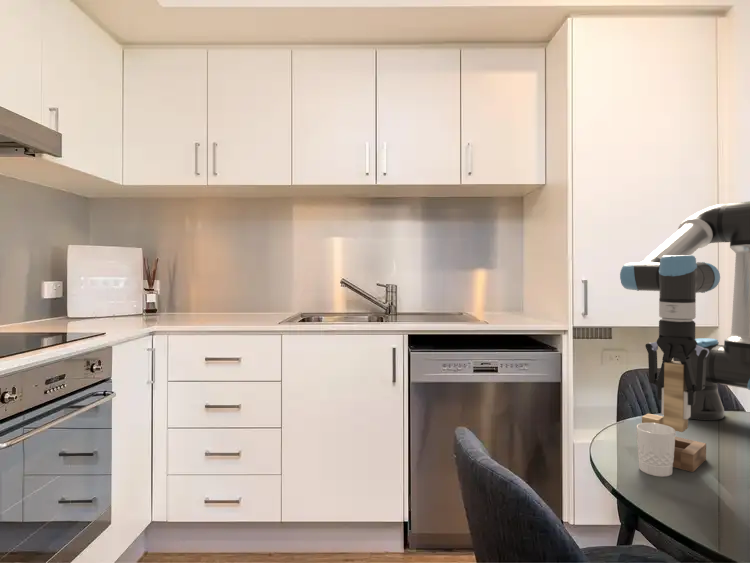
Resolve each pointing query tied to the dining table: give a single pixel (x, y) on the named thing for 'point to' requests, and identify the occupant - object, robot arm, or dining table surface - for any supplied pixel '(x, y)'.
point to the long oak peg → (674, 395)
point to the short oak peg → (653, 419)
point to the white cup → (656, 448)
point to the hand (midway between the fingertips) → (675, 415)
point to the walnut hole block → (688, 454)
